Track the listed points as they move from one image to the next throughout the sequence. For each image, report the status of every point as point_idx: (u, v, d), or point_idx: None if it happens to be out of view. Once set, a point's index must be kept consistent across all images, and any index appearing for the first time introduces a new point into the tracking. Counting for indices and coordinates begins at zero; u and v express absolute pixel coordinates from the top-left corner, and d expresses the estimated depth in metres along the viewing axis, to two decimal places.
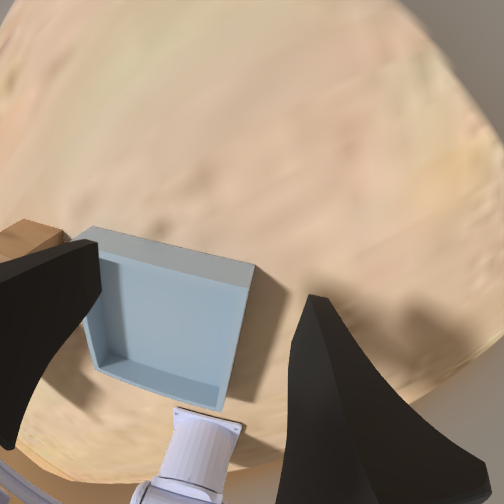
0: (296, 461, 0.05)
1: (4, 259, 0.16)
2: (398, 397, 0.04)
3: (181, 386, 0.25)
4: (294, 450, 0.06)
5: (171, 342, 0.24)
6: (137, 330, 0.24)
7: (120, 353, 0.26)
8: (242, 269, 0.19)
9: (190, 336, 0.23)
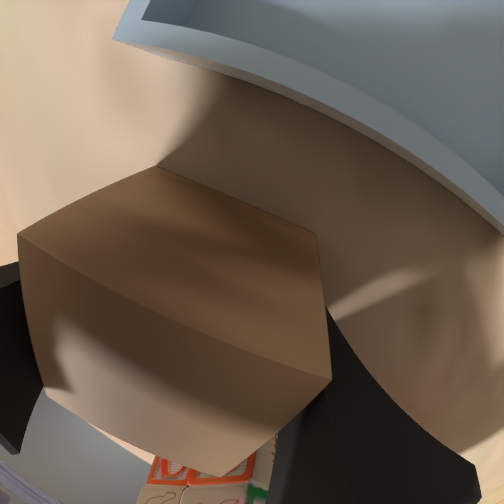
0: (285, 460, 0.05)
1: (37, 317, 0.05)
2: (388, 396, 0.04)
3: None
4: (284, 449, 0.06)
5: (487, 6, 0.04)
6: (467, 64, 0.06)
7: None
8: None
9: None
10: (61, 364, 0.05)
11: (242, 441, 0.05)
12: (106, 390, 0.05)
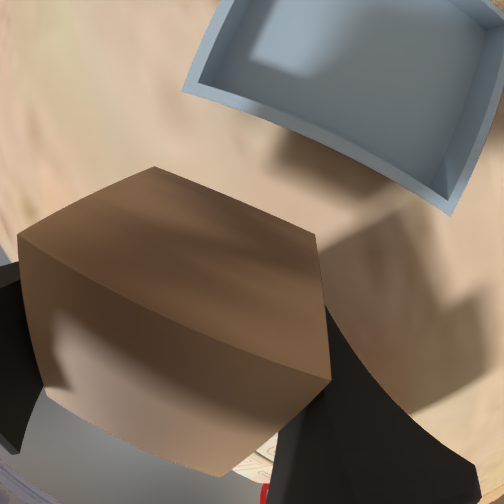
0: (285, 460, 0.05)
1: (37, 318, 0.05)
2: (388, 396, 0.04)
3: (486, 70, 0.09)
4: (284, 449, 0.06)
5: (408, 45, 0.11)
6: (386, 90, 0.12)
7: (432, 165, 0.13)
8: None
9: (393, 11, 0.10)
10: (61, 364, 0.05)
11: (242, 441, 0.05)
12: (106, 390, 0.05)
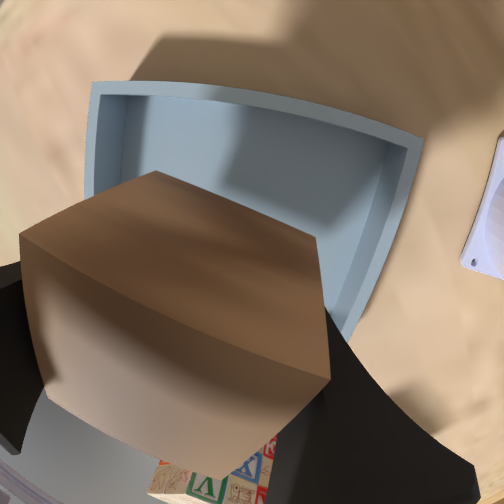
0: (284, 460, 0.05)
1: (38, 318, 0.05)
2: (387, 396, 0.05)
3: (374, 221, 0.12)
4: (283, 449, 0.06)
5: (274, 217, 0.14)
6: None
7: None
8: None
9: (252, 178, 0.13)
10: (62, 365, 0.05)
11: (242, 443, 0.05)
12: (106, 391, 0.05)
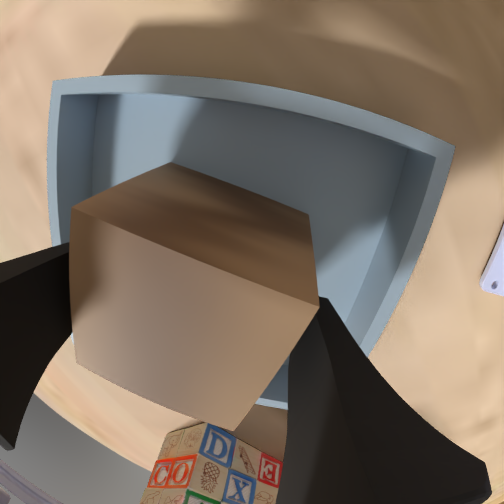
0: (296, 461, 0.05)
1: (81, 279, 0.06)
2: (398, 397, 0.04)
3: (389, 244, 0.10)
4: (294, 450, 0.06)
5: None
6: None
7: None
8: None
9: None
10: (97, 322, 0.07)
11: (252, 379, 0.07)
12: (137, 340, 0.07)
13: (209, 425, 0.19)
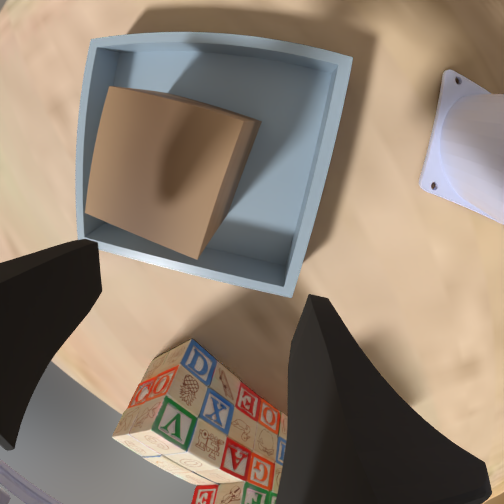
0: (296, 461, 0.05)
1: (105, 130, 0.10)
2: (399, 396, 0.04)
3: (320, 134, 0.14)
4: (294, 450, 0.06)
5: None
6: None
7: (284, 245, 0.18)
8: None
9: None
10: (109, 162, 0.11)
11: (207, 188, 0.11)
12: (134, 168, 0.11)
13: (192, 342, 0.23)
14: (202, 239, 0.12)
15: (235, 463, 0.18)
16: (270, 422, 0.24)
